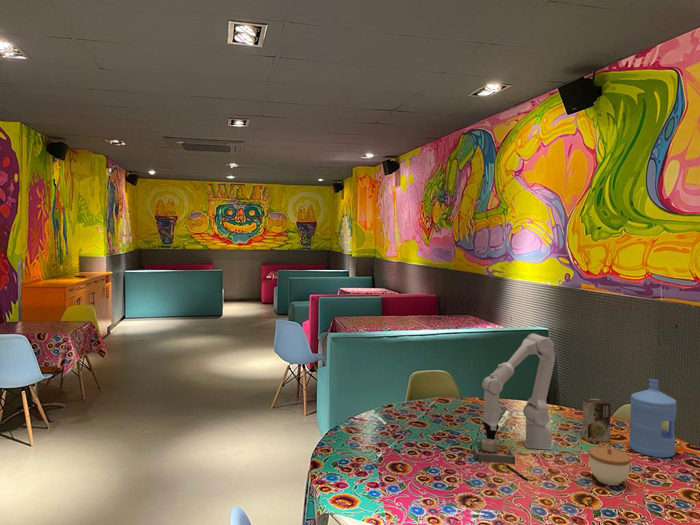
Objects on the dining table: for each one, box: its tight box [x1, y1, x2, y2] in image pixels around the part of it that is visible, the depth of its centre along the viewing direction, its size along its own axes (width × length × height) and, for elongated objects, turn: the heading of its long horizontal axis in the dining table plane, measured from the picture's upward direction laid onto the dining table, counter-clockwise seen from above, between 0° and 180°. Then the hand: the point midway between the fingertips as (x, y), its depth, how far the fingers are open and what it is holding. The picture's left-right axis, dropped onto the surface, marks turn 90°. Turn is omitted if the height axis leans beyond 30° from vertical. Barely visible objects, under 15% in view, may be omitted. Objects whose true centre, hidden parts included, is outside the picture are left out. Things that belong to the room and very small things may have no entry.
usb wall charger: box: [481, 437, 503, 454], centre depth 195 cm, size 4×7×4 cm, turn 60°
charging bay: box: [473, 444, 516, 465], centre depth 189 cm, size 14×9×2 cm, turn 82°
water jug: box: [628, 378, 678, 459], centre depth 199 cm, size 16×16×28 cm
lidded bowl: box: [588, 446, 632, 486], centre depth 172 cm, size 13×13×11 cm
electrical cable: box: [505, 464, 529, 482], centre depth 176 cm, size 12×1×1 cm, turn 16°
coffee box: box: [581, 397, 611, 443], centre depth 211 cm, size 9×6×16 cm
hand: (490, 442), depth 199 cm, fingers closed
